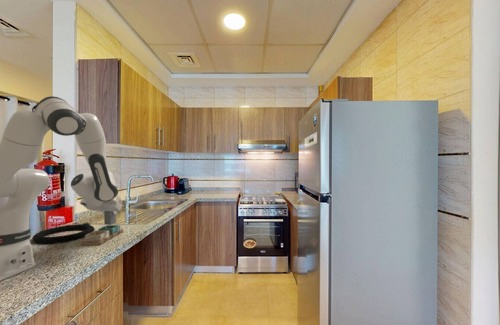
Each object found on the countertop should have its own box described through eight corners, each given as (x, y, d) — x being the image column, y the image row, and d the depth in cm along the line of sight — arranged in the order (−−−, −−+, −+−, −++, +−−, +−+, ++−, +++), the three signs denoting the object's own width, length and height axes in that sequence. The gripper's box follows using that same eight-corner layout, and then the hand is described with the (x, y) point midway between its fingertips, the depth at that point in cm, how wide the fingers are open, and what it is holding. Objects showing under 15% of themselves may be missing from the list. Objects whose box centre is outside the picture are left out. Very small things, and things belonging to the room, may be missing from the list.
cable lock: (16, 237, 121) (67, 221, 151) (16, 244, 121) (67, 228, 151) (66, 238, 118) (108, 222, 148) (66, 246, 118) (108, 228, 148)
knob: (110, 224, 132) (110, 206, 132) (104, 224, 133) (104, 206, 133) (115, 222, 136) (115, 205, 136) (110, 222, 137) (109, 205, 137)
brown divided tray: (100, 245, 118) (100, 236, 118) (80, 245, 118) (80, 236, 118) (123, 231, 140) (123, 224, 140) (106, 232, 140) (106, 224, 140)
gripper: (116, 194, 125) (129, 209, 135) (84, 193, 129) (99, 207, 139) (109, 204, 121) (123, 218, 130) (76, 203, 125) (92, 217, 135)
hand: (110, 213), depth 135 cm, fingers closed on knob, 4 cm apart
